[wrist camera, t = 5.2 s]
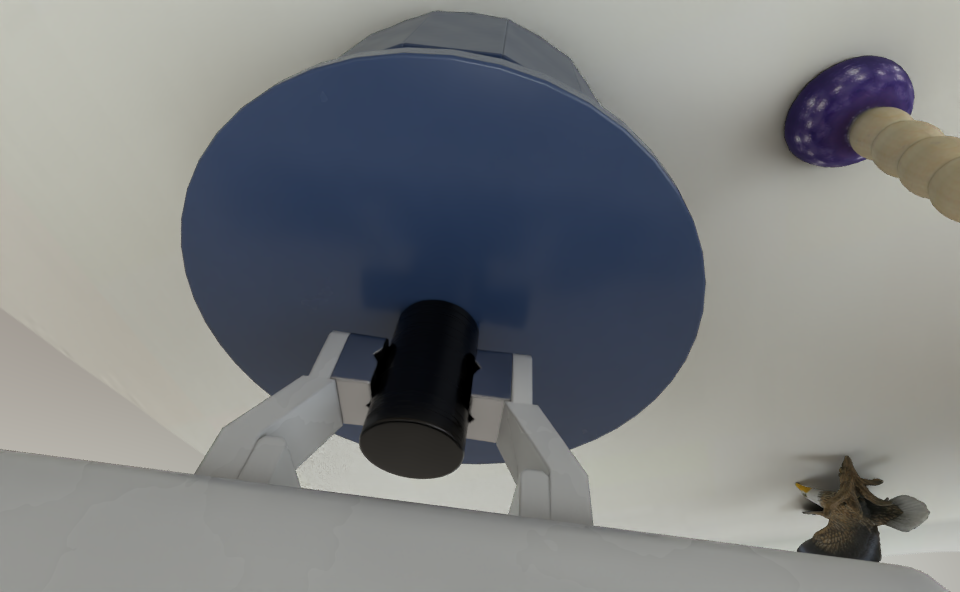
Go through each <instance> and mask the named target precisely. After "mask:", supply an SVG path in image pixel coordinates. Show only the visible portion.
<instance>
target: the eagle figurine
mask: <svg viewBox="0 0 960 592" xmlns="http://www.w3.org/2000/svg"><path fill="white" fill-rule="evenodd" d="M839 472H840V473H839V477H840V483H841V484H840V489H839V490H838V492H833V491H820V490H817V489H814V488H810V487H805V486H802V485H800V484H798V483H796V486H797V487H798V488H799V489H800V490H801V492H802V494H803V496H804V497H805V498H807V499H809V500H811V501H812V502H814V503H816V504H818V505H819V506H821V507H823V508H824V510H823V511H806V512H802V513H803V514H813V515H816V514H817V515H822V516H824V517H825V518H827V519H829V523H828V525H827V526H826V527H825V528H823V529H821V530H820V531H818V532H816V533H815V534H814V536H813V538H811V539H809V540H807V541H805V542H804V543H803V544H801V545H800V546H799V548H798V549H797V552H802V553H810V554H817V555H825V556H833V557H841V558H849V559H856V560H864V561H872V562H879V561H881V548H880V545H881V544H880V538H879V534H880V533H879V531H878V528H877V526H880V525H887V526H890V527H892V528H895V529H897V530H900V531H903V532H909V531H910V530H912V529H915V528H916V527H918V526H920V525H921V524H922V523H923V522H924V521H925V520H926V519H928V515H929V514H930V511H929V510H928V509H927V506H926V505H925V503H923V502H921V501H919V500H917V499H916V498H914V497H911V496H908V495H901V496H897V497H895V498H893V499H890V500H889V498H888V497H887V498H886V499H885V500H882V499H879V498H877V497H876V496H874V495H873V494H872V493H871V492H870V491H869V490H868V488H867V487H866V486H867V485H873V486H876V485H880V484H882V483H883V481H882V480H881V479H873V480H868V479H863V478H860V477H859V475H858V474H857V472H856V471H855V469H854V467H853V464H852V461H851V459H850V458H849V457H848V456H845V458H844V461H843V463H842V467H840V469H839ZM888 500H889V501H888Z"/></svg>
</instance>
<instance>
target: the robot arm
mask: <svg viewBox="0 0 960 592" xmlns="http://www.w3.org/2000/svg"><path fill="white" fill-rule="evenodd" d="M388 349H389V339H387V338H383V337H376V336H369V335H363V334H356V333H347V332H341V331H334V330H333V331H332V332H331V333H330V334H329V335H328V337H327V339H326V341H325V343H324V345H323V347H322V349H321V351H320V353H319V355H318V357H317V359H316V361H315V363H314V365H313V367H312V369H311V372H310V374H309V376H305V375H303V376H301V377H300V378H298V379H296V380H295V381H293V382H292V383H290V384H289V385H287V386H286V387H284V388H283V389H281V390H280V391H278V392H277V393H275V394H274V395H272V396H271V397H269V398H268V399H266V400H264V401H263V402H261V403H260V404H258V405H257V406H255V407H254V408H252V409H251V410H249V411H248V412H246V413H245V414H243V415H242V416H240V417H239V418H237V419H235V420H234V421H232V422H231V423H229V424H228V425H226V426H225V427H223V428H222V430H221V431H220V433H219V435H218V436H217V438H216V439H215V441H214V443H213V444H212V446H211V448H210V449H209V451H208V452H207V454H206V456H205V457H204V459H203V461H202V462H201V464H200V465H199V467H198V469H197V470H196V472H195V474H188V473H180V472H172V471H165V470H157V469H149V468H142V467H134V466H126V465H119V464H111V463H103V462H95V461H88V460H80V459H72V458H64V457H57V456H49V455H41V454H34V453H26V452H18V451H11V450H10V451H9V450H3V449H0V592H950V591H949V590H947V589H946V588H945V587H943V586H942V585H941V584H940V583H938V582H937V581H936V580H934V579H933V578H932V577H931V576H929V575H928V574H926V573H924V572H922V571H920V570H916V569H914V568H911V567H906V566H901V565H895V564H887V563H880V562H872V561H864V560H856V559H849V558H841V557H833V556H825V555H817V554H810V553H802V552H794V551H786V550H778V549H771V548H763V547H755V546H747V545H740V544H732V543H724V542H716V541H709V540H701V539H693V538H685V537H678V536H670V535H662V534H654V533H646V532H639V531H631V530H623V529H615V528H608V527H600V526H593V518H592V508H591V499H590V489H589V480H588V475H587V473H586V472H585V470H584V469H583V468H582V466H581V465H580V463H579V462H578V461H577V459H576V458H575V456H574V455H573V454H572V452H571V451H570V449H569V448H568V447H567V445H566V444H565V442H564V441H563V440H562V438H561V437H560V435H559V434H558V433H557V431H556V430H555V428H554V427H553V426H552V424H551V423H550V421H549V420H548V419H547V417H546V416H545V414H544V413H543V412H542V410H541V409H540V407H539V406H538V405H533V404H532V357H531V355H522V354H514V353H513V354H512V353H506V352H498V351H489V350H480V349H476V356H475V364H474V371H473V380H472V387H471V395H470V404H469V421H468V429H467V437H466V438H467V439H473V440H480V441H486V442H493V443H496V445H497V447H498V449H499V451H500V453H501V455H502V457H503V459H504V461H505V463H506V465H507V467H508V469H509V471H510V473H511V475H512V477H513V479H514V481H515V483H516V485H517V486H516V489H515V492H514V496H513V499H512V503H511V506H510V510H509V513H508V515H507V514H499V513H491V512H483V511H476V510H468V509H460V508H452V507H445V506H437V505H429V504H421V503H414V502H406V501H398V500H390V499H382V498H375V497H367V496H359V495H351V494H343V493H335V492H328V491H320V490H312V489H304V488H301V486H300V483H299V480H298V477H297V474H296V471H295V470H296V469H297V468H298V467H299V466H300V465H301V464H302V463H303V462H304V461H305V460H306V459H308V458H309V457H310V456H311V455H312V454H313V453H314V452H315V451H316V450H317V449H318V448H319V447H320V446H321V445H322V444H324V443H325V442H326V441H327V440H328V439H329V438H330V437H331V436H332V435H333V434H334V433H335V432H336V431H337V430H338V429H340V428H341V427H342V426H343V423H344V424H353V425H364V422H365V419H366V416H367V413H368V410H369V407H370V404H371V400H372V397H373V394H374V391H375V388H376V385H377V382H378V379H379V376H380V373H381V370H382V367H383V364H384V361H385V358H386V355H387V352H388Z"/></svg>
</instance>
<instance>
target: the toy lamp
mask: <svg viewBox="0 0 960 592" xmlns="http://www.w3.org/2000/svg"><path fill="white" fill-rule="evenodd" d="M913 102H914V89H913V86H912V83H911V80H910V78H909V76H908V75H907V73H906V72H905V71H904V70H903V69H902V67H901V66H899V65H898V64H896V63H895V62H894V61H892V60H889V59H887V58H883V57H878V56H861V57H856V58H852V59H848V60H845V61H843V62H840V63H838V64H836V65H834V66H833V67H831V68H829V69H827V70H825V71H823V72H822V73H821V74H819V75H818V76H817V77H816V78H815V79H813V80H812V81H810V82H809V83H808V85H807V86H806V87H805V88H804V89H803V90H802V91H801V93H800V94H799V95H798V97H797V98H796V100H795V101H794V102H793V104H792V106H791V108H790V110H789V112H788V115H787V118H786V122H785V140H786V143H787V145H788V147H789V150H790V151H791V152H792V153H793V154H794V155H795V156H796V157H797V158H799V159H801V160H802V161H804V162H807V163H809V164H812V165H816V166H822V167H842V166H847V165H851V164H854V163H858V162H860V161H863V160H866V159H869V160H873V161H874V163H875V164H876V165H877V167H878V168H879V169H880V170H882V171H883V172H884V173H886V174H888V175H890V176H893V177H896V178H899V179H900V181H901V183H902V184H903V185H904V186H905V187H906V188H907V189H908V190H909V191H910V192H912V193H914V194H915V195H918V196H920V197H923V198H928V199H930V201H931V203H932V205H933V206H934V207H935V208H936V209H937V210H938V211H939V212H940V213H941V214H943V215H944V216H946V217H948V218H949V219H951V220H954V221H957V222H959V223H960V138H956V137H952V136H945V135H944V134H943V133H942V131H941V130H940V129H938V128H937V127H935V126H933V125H931V124H929V123H926V122H923V121H916V120H914V119H913V118H912V117H911V116H910V115H911V112H912V109H913Z"/></svg>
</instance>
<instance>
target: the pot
mask: <svg viewBox="0 0 960 592" xmlns="http://www.w3.org/2000/svg"><path fill="white" fill-rule="evenodd" d="M406 47H410V48H431V49H452V50H459V51H464V52H469V53H474V54H480V55H485V56H490V57H495V58H500V59H504V60H506V61H509V62H512V63H515V64H518V65H521V66H524V67H526V68H529V69H532V70H535V71H538V72H541V73H544V74H546V75H548V76H550V77H552V78H554V79H556V80H558V81H560V82H562V83H564V84H566V85H568V86H569V87H571V88H573V89H575V90H577V91H579V92H581V93H583V94H585V95H587V96H588V97H590V98H591V99H592V100H594V101H595V102H596V103H598V101H597V99H596V98H595V96H594V95H593V93H592V92H591V90H590V88H589V86H588V84H587V83H586V81H585V80H584V79H583V77H582V76H581V75H580V73H579V71H578V70H577V68H576V67H575V65H574V64H573V62H572V61H571V59H570V58H569V57H568V56H567V55H565V54H563V53H562V52H560V51H559V50H557V49H556V48H555V47H553V46H552V45H551V44H549V43H548V42H547V41H545V40H544V39H542V38H541V37H540V36H538V35H536V34H534V33H533V32H531V31H529V30H527V29H525V28H523V27H521V26H519V25H517V24H516V23H514V22H512V21H511V20H508V19H506V18H497V17H493V16H488V15H483V14H477V13H469V12H444V11H433V12H430V13H427V14H424V15H422V16H419V17H416V18H412V19H409V20H405V21H403V22H401V23H398V24H396V25H394V26H392V27H389V28H387V29H384V30H381V31H378V32H376V33H373V34H371V35H369V36H368V37H366V38H365V39H364V40H362V41H361V42H359V43H358V44H357V45H355V46H354V47H353V48H351V49H350V50H348V51H347V52H346V53H344V54H343V55H342V56H340V57H339V58H341V57H345V56H349V55H353V54H356V53H360V52H367V51H377V50H387V49H396V48H406ZM598 104H599V103H598ZM599 105H600V104H599Z"/></svg>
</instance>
